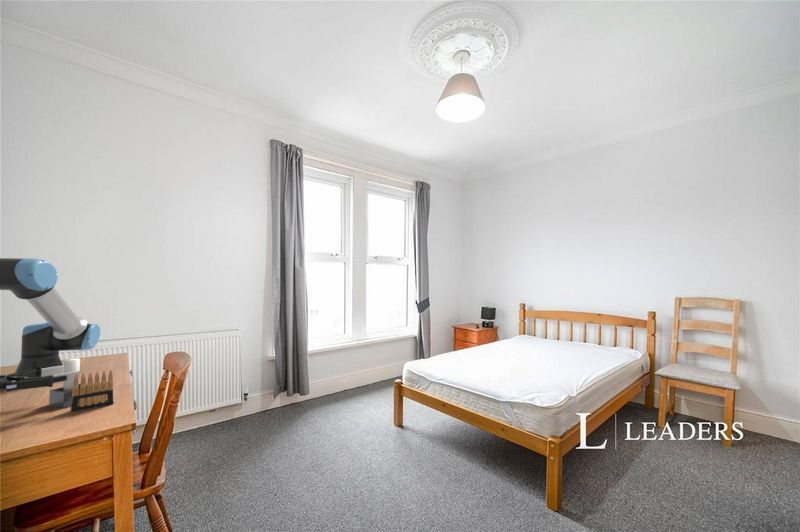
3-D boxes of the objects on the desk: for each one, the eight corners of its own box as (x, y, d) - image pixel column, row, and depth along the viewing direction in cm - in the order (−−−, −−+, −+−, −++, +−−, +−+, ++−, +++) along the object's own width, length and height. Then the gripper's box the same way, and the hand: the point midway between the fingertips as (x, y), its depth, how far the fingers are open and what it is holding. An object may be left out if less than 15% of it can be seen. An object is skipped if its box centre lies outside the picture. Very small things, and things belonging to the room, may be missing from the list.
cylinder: (59, 400, 119) (61, 360, 119) (73, 397, 122) (75, 358, 123) (66, 402, 117) (68, 361, 118) (81, 398, 121) (82, 359, 122)
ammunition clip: (70, 412, 112) (72, 375, 112) (70, 410, 113) (72, 374, 113) (113, 404, 119) (114, 369, 120) (112, 402, 120) (114, 368, 121)
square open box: (49, 404, 117) (49, 390, 118) (77, 397, 125) (78, 383, 125) (63, 408, 115) (64, 393, 115) (91, 400, 122) (92, 386, 123)
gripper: (-30, 392, 109) (61, 376, 127) (-16, 409, 96) (84, 389, 113) (-29, 368, 109) (62, 356, 127) (-14, 382, 96) (85, 366, 114)
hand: (72, 371), depth 120 cm, fingers open, 13 cm apart
